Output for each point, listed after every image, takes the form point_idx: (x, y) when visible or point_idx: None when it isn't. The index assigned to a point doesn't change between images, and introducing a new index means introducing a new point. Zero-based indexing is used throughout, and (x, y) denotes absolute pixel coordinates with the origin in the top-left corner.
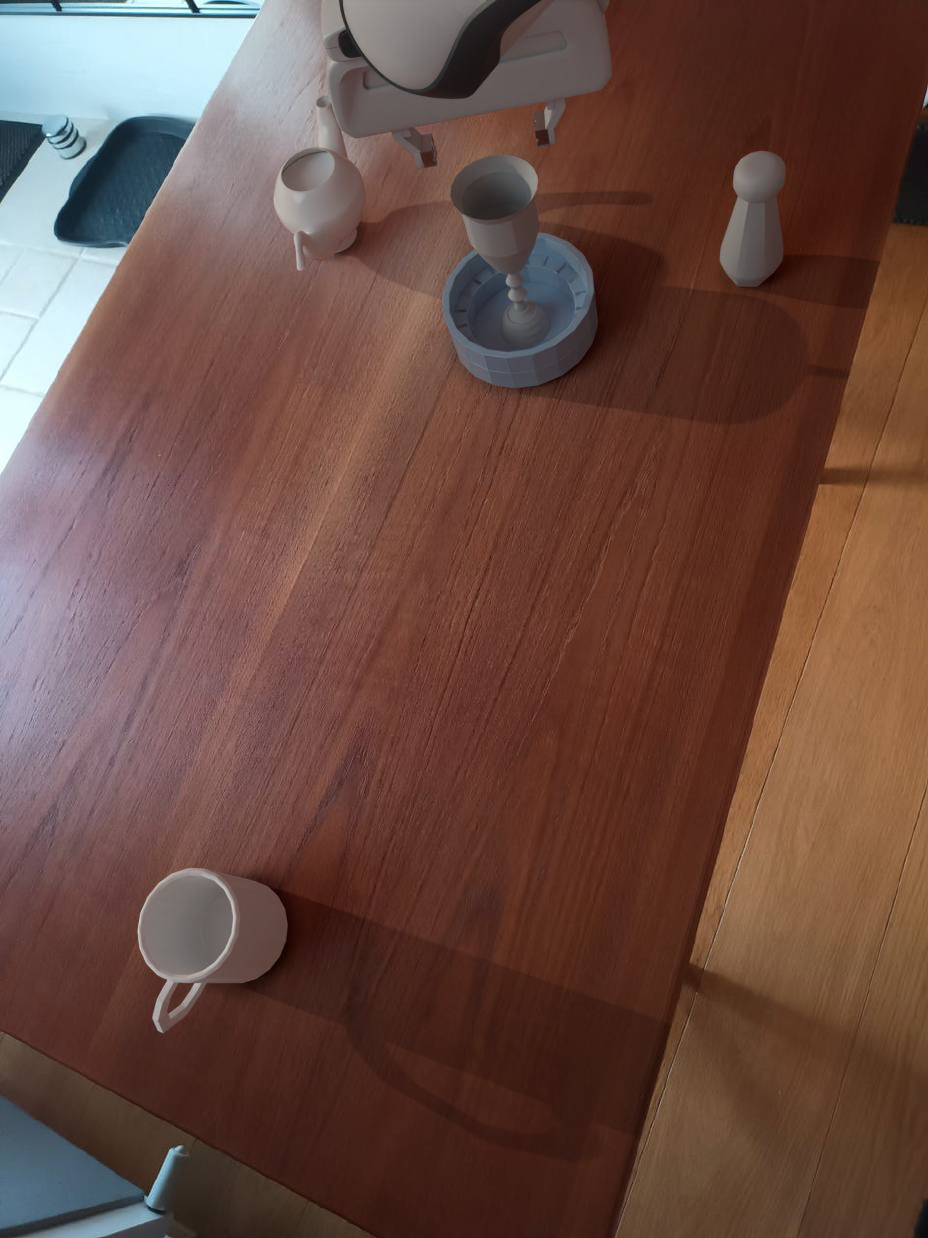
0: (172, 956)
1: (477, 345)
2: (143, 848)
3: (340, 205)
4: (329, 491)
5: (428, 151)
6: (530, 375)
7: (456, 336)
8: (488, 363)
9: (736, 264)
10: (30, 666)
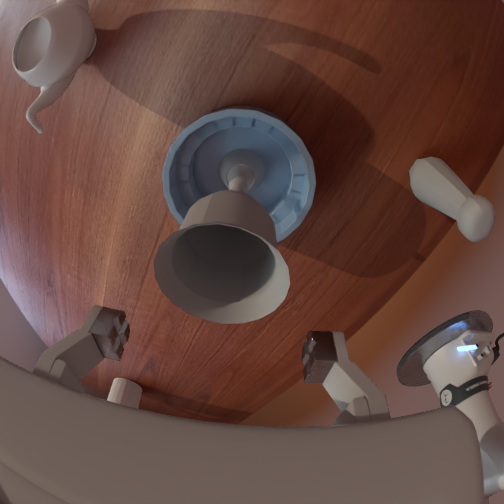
0: None
1: None
2: None
3: (61, 67)
4: (104, 264)
5: (114, 359)
6: None
7: (177, 219)
8: None
9: (420, 198)
10: (20, 303)
